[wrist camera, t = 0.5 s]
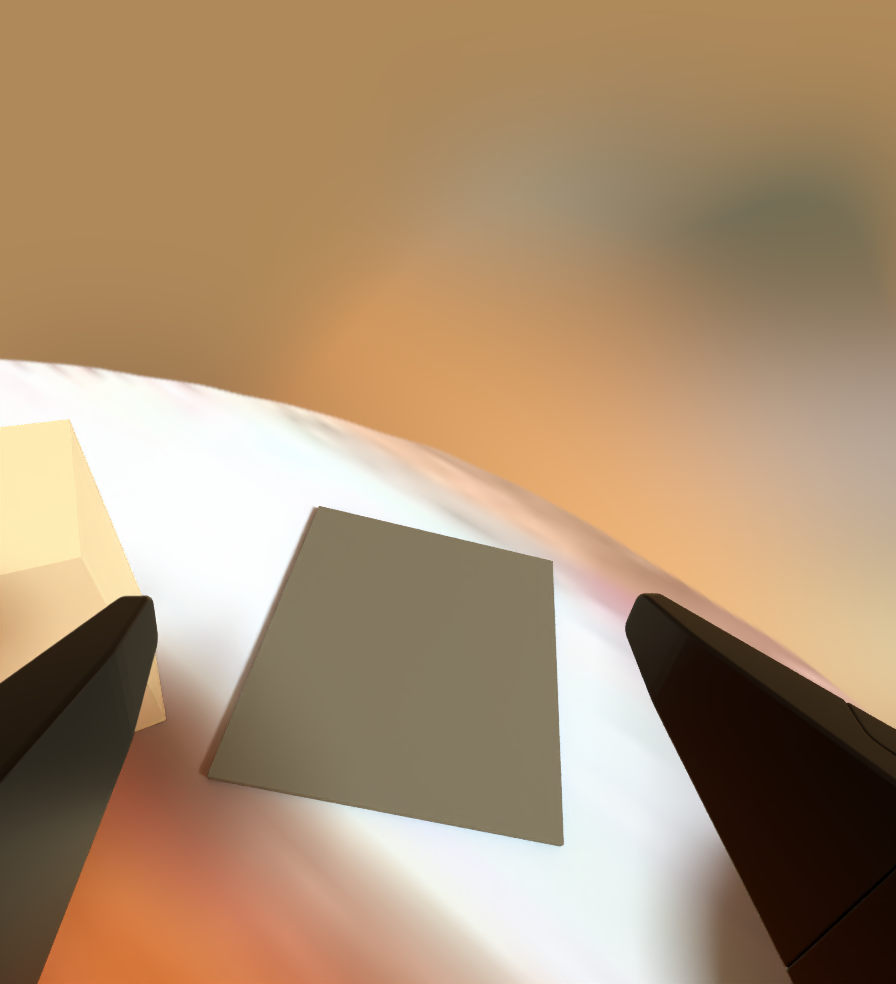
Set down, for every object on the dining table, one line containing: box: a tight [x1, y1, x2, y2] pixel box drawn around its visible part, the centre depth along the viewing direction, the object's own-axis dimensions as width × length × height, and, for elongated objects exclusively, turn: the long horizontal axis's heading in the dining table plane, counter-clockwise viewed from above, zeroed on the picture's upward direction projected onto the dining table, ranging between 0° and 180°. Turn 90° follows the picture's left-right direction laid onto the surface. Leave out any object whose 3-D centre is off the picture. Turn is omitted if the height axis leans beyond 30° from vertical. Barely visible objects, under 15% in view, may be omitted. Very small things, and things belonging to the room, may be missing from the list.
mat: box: [207, 506, 564, 846], centre depth 26 cm, size 15×15×1 cm
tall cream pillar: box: [0, 419, 166, 732], centre depth 17 cm, size 6×6×12 cm
